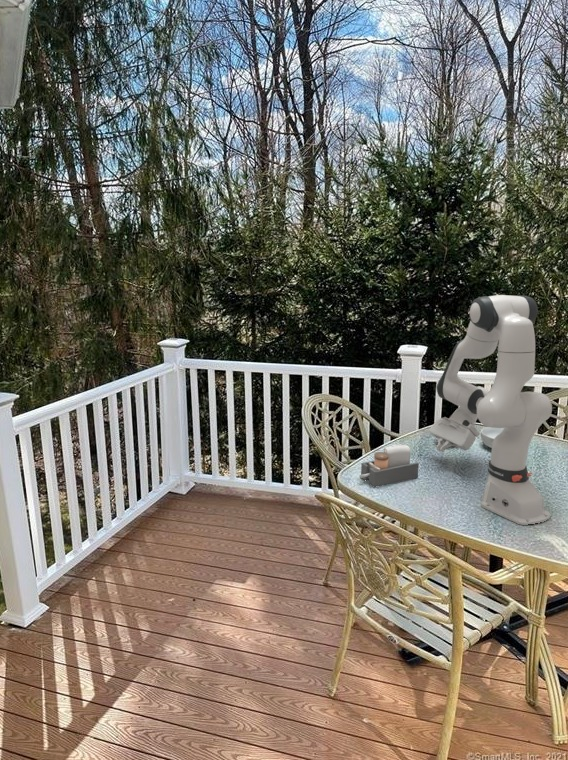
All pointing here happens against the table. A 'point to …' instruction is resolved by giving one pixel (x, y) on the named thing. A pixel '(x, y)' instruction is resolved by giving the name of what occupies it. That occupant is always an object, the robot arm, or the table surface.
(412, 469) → the lane
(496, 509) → the robot arm
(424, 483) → the table surface
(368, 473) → the pusher
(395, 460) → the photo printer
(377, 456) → the jar
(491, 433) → the cereal bowl
